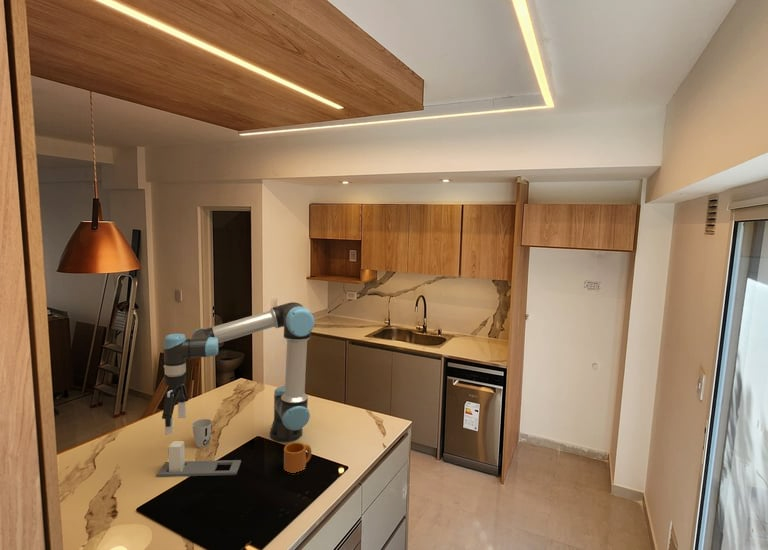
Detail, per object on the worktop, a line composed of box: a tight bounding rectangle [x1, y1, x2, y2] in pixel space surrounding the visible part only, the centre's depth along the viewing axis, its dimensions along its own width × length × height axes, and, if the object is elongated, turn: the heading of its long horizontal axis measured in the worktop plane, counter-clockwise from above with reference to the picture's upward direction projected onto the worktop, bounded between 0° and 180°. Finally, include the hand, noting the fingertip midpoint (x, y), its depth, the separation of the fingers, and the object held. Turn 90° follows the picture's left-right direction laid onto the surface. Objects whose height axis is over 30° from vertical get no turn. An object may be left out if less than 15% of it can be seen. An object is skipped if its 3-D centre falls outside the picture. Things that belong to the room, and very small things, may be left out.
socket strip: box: [156, 459, 242, 478], centre depth 173 cm, size 30×9×1 cm, turn 97°
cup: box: [191, 418, 213, 448], centre depth 191 cm, size 8×8×10 cm
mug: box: [283, 441, 312, 473], centre depth 177 cm, size 9×12×9 cm
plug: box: [167, 440, 186, 472], centre depth 171 cm, size 5×4×11 cm
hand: (175, 425), depth 170 cm, fingers open, 13 cm apart
